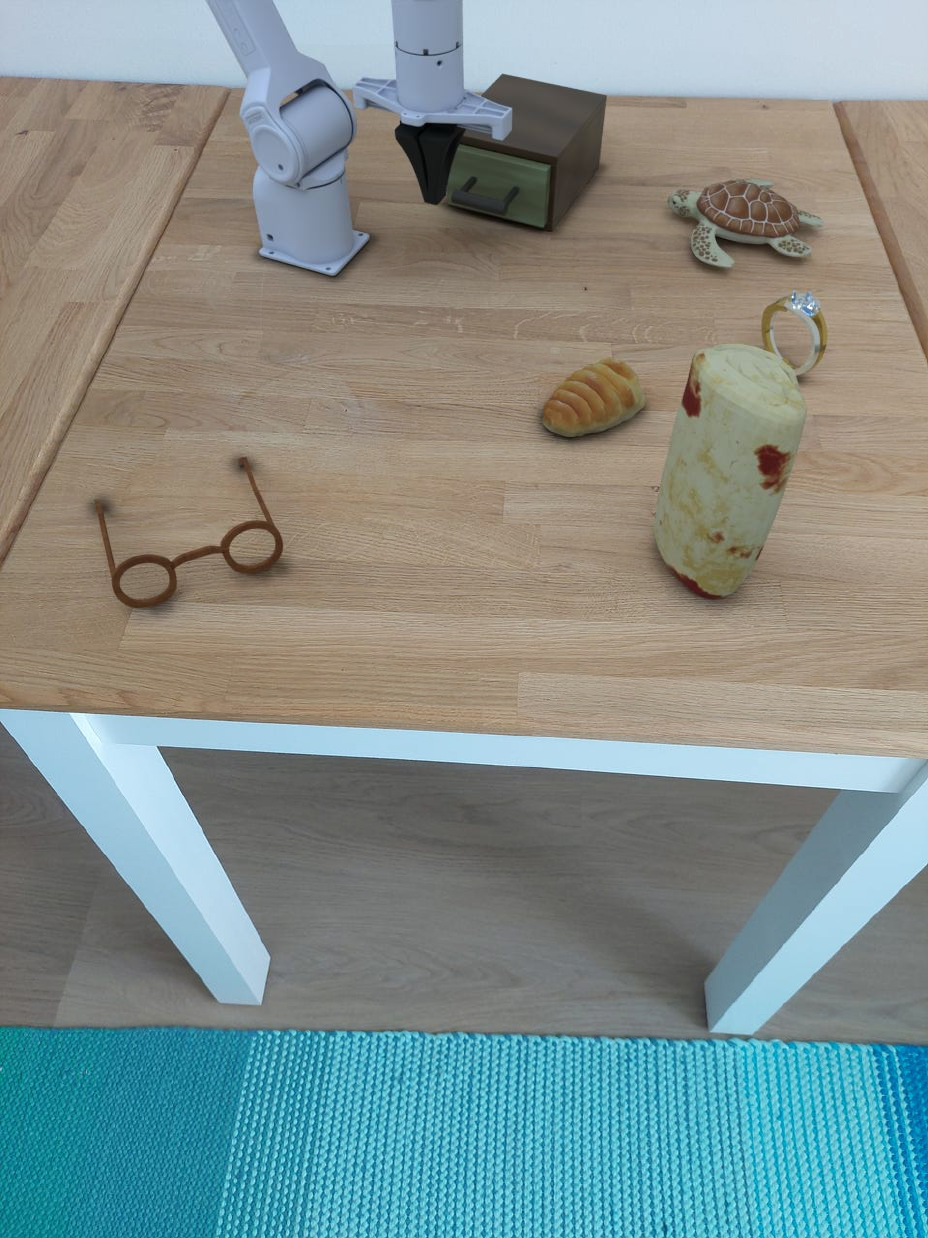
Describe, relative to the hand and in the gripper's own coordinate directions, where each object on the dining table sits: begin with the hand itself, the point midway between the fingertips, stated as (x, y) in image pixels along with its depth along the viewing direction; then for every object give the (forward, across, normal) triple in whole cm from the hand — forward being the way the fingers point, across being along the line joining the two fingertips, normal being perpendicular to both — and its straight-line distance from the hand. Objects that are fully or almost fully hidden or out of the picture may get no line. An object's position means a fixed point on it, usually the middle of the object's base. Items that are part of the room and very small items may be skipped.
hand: (435, 198), depth 88 cm
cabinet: (+10, 0, +23) cm, 25 cm away
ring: (+11, +35, +3) cm, 37 cm away
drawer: (+9, 0, +19) cm, 21 cm away
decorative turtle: (+11, +25, +24) cm, 36 cm away
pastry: (+11, +21, -10) cm, 25 cm away
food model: (+11, +35, -24) cm, 44 cm away
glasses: (+11, -4, -38) cm, 40 cm away
